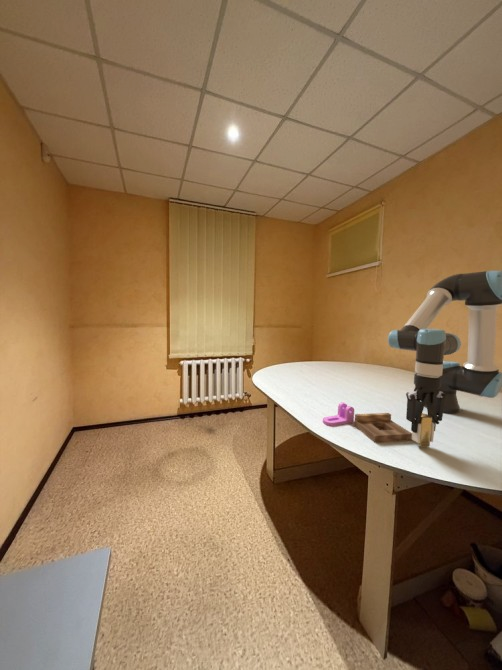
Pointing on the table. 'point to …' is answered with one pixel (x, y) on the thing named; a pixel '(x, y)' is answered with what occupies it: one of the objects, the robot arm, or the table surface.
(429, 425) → the cylinder
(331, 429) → the table surface
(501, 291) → the robot arm
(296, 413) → the table surface
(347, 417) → the bracket
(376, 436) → the frame
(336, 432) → the table surface
